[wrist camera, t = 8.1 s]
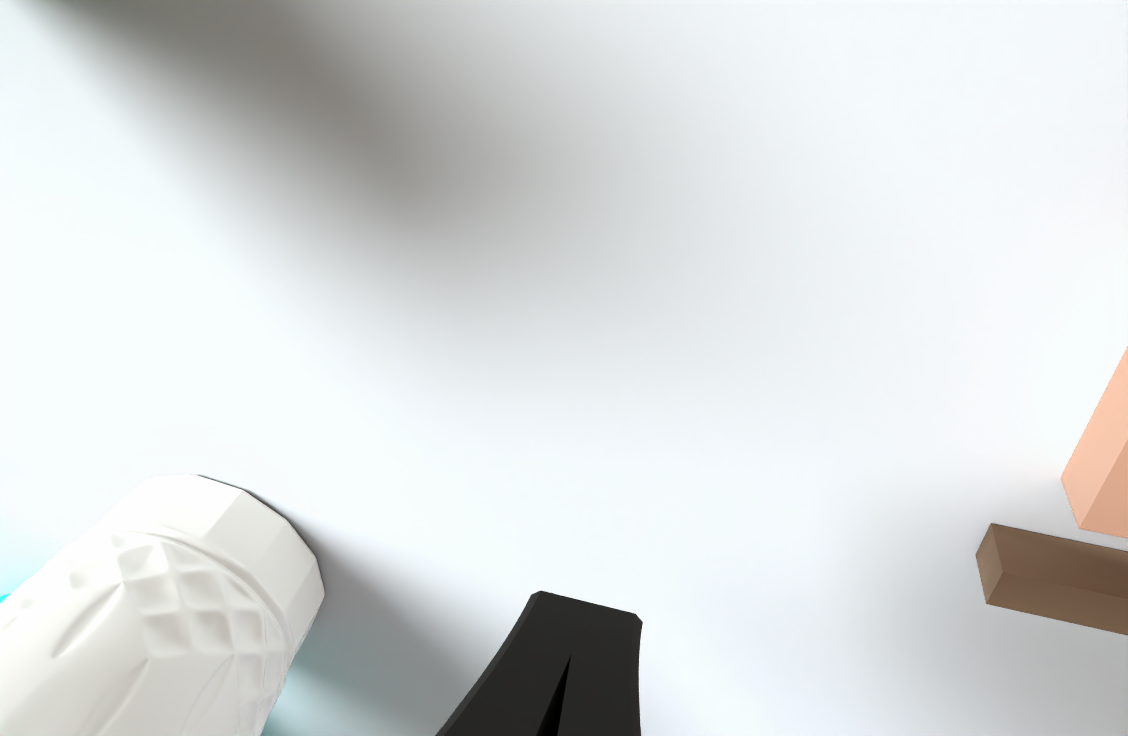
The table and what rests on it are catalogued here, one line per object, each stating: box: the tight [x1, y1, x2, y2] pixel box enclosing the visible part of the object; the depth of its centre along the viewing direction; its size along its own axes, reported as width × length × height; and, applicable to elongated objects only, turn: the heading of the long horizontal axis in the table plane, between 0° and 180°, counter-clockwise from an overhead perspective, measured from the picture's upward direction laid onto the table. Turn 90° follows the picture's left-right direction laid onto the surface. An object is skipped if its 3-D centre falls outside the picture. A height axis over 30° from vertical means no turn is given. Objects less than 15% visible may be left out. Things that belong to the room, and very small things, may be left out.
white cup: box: [0, 475, 325, 736], centre depth 23 cm, size 8×8×10 cm
